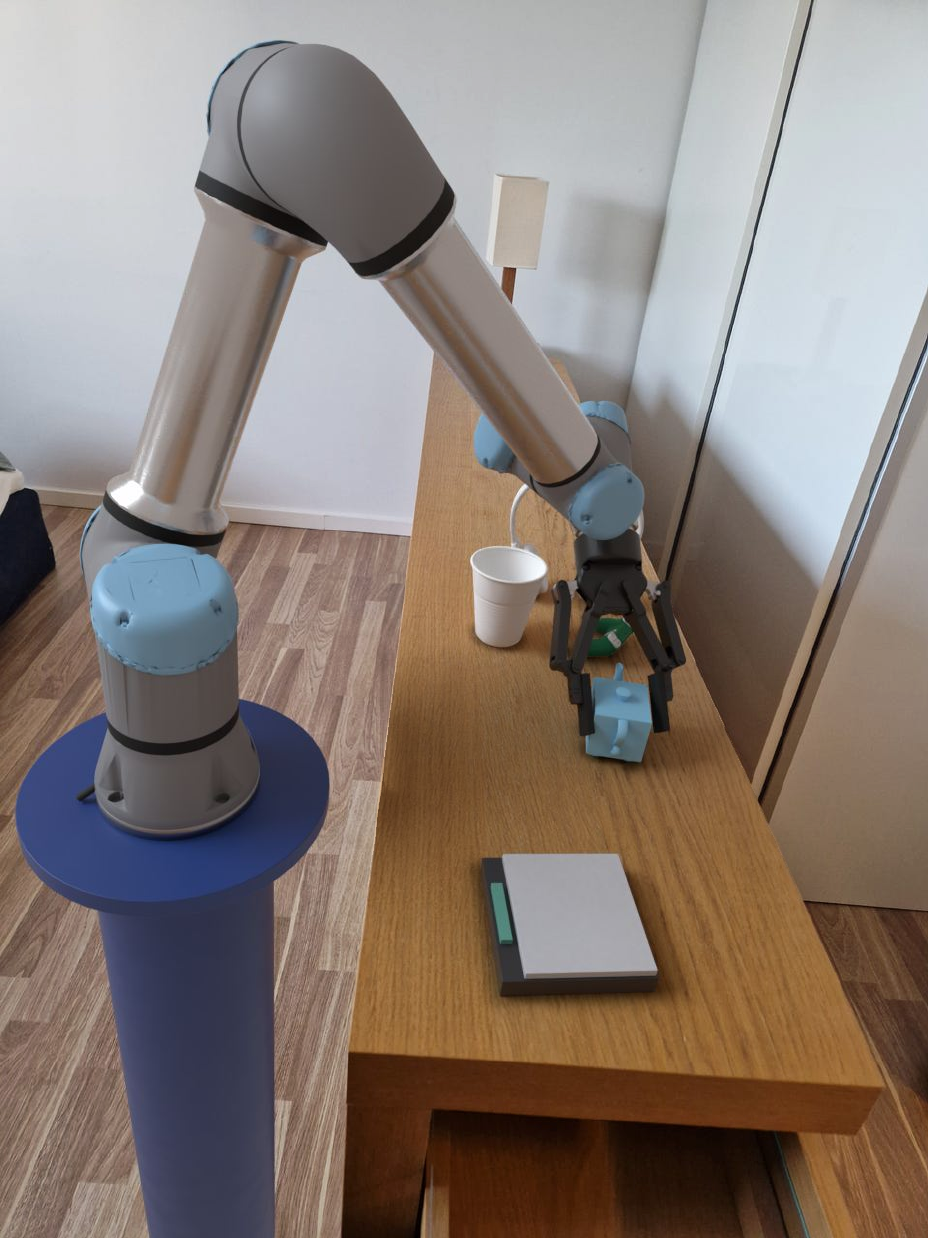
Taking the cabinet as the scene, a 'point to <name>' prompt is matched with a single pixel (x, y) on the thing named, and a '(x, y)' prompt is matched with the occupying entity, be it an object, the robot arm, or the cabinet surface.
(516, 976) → the scale
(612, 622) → the green christmas socks
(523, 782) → the cabinet surface
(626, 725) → the teapot
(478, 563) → the cup
